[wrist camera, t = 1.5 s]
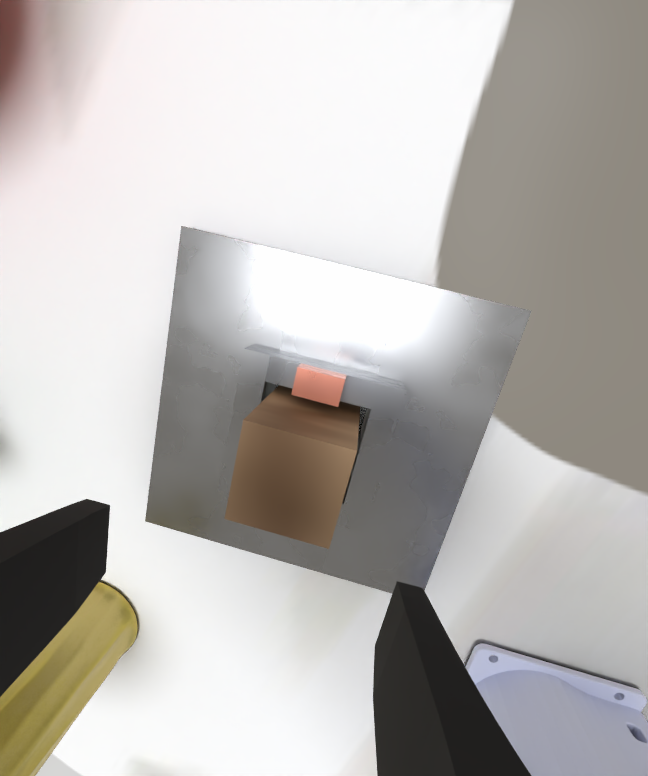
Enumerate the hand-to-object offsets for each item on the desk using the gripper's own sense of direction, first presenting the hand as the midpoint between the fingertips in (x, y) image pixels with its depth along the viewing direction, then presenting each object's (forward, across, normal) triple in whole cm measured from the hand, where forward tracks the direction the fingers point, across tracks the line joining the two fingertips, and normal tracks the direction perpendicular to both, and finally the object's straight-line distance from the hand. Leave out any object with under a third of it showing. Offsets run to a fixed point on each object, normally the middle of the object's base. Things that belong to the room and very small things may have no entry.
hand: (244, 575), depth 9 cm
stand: (+11, 0, 0) cm, 11 cm away
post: (+11, 0, 0) cm, 11 cm away
